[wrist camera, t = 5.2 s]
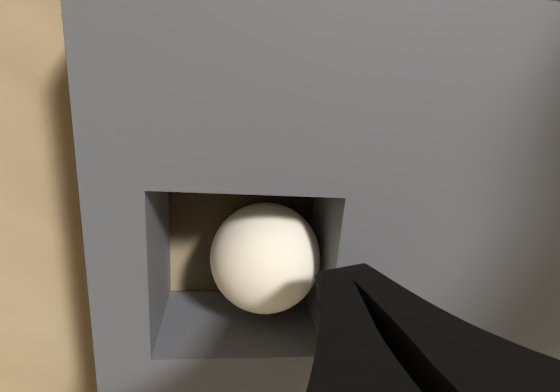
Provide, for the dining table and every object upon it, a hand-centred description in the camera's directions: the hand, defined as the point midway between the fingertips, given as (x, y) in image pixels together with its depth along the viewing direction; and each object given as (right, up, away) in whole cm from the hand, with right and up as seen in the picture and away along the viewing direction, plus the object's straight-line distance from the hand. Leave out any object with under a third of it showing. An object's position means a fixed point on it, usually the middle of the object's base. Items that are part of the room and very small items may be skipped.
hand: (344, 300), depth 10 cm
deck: (0, +1, +4) cm, 4 cm away
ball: (-2, +1, +2) cm, 3 cm away
